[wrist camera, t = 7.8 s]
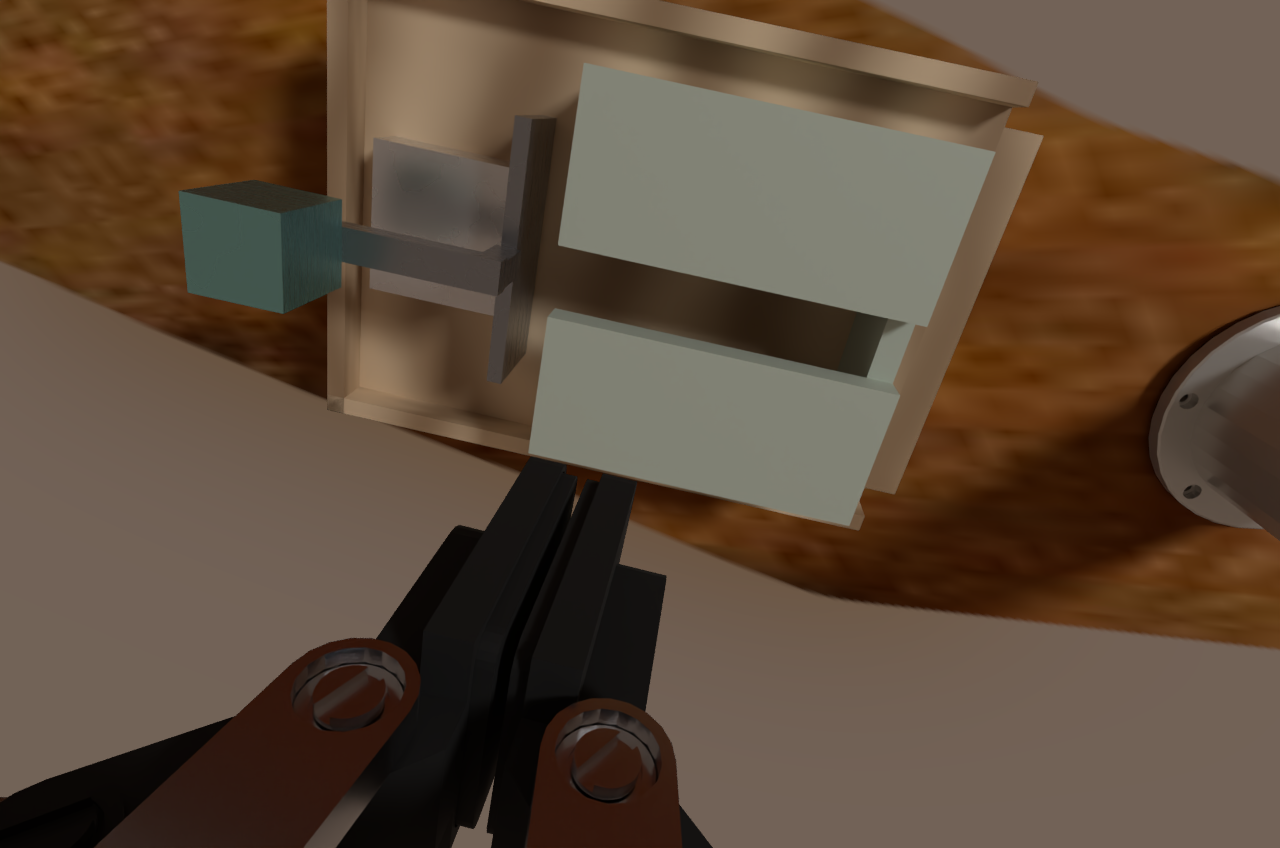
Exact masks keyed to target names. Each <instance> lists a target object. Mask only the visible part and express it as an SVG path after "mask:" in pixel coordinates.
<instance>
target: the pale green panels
mask: <svg viewBox="0 0 1280 848" xmlns="http://www.w3.org/2000/svg"><path fill="white" fill-rule="evenodd" d="M995 153H996V152H994V151H989V150H984V149H980V148H975V147H971V146H966V145H961V144H957V143H952V142H948V141H943V140H938V139H934V138H929V137H924V136H920V135H915V134H911V133H906V132H901V131H897V130H892V129H888V128H883V127H878V126H874V125H869V124H865V123H860V122H855V121H851V120H846V119H842V118H837V117H832V116H828V115H823V114H819V113H814V112H809V111H805V110H800V109H795V108H791V107H786V106H782V105H777V104H772V103H768V102H763V101H759V100H754V99H749V98H745V97H740V96H736V95H731V94H726V93H722V92H717V91H713V90H708V89H703V88H699V87H694V86H690V85H685V84H680V83H676V82H671V81H667V80H662V79H657V78H653V77H648V76H643V75H639V74H634V73H630V72H625V71H620V70H616V69H611V68H607V67H602V66H597V65H593V64H588V63H584V65H583V72H582V79H581V86H580V93H579V100H578V107H577V114H576V121H575V128H574V135H573V142H572V149H571V156H570V163H569V170H568V177H567V184H566V191H565V198H564V205H563V212H562V219H561V226H560V233H559V240H558V245H559V246H564V247H568V248H573V249H577V250H582V251H586V252H591V253H595V254H600V255H604V256H609V257H613V258H618V259H622V260H627V261H631V262H636V263H640V264H645V265H649V266H654V267H658V268H663V269H667V270H672V271H676V272H681V273H685V274H690V275H694V276H699V277H703V278H708V279H712V280H717V281H721V282H726V283H730V284H735V285H739V286H744V287H748V288H753V289H757V290H762V291H766V292H771V293H775V294H780V295H784V296H789V297H793V298H798V299H803V300H807V301H812V302H816V303H821V304H825V305H830V306H834V307H839V308H843V309H848V310H852V311H857V313H856V316H855V319H854V322H853V325H852V328H851V331H850V334H849V337H848V340H847V343H846V346H845V348H844V351H843V354H842V357H841V360H840V363H839V366H838V369H837V371H834V370H829V369H825V368H821V367H816V366H812V365H807V364H803V363H798V362H794V361H789V360H785V359H780V358H776V357H771V356H767V355H762V354H758V353H753V352H749V351H744V350H740V349H735V348H731V347H726V346H722V345H718V344H713V343H709V342H704V341H700V340H695V339H691V338H686V337H682V336H677V335H673V334H668V333H664V332H659V331H655V330H650V329H646V328H641V327H637V326H632V325H628V324H624V323H619V322H615V321H610V320H606V319H601V318H597V317H592V316H588V315H583V314H579V313H574V312H570V311H565V310H561V309H556V308H555V309H554V310H553V311H552V312H551V313H550V315H549V316H548V318H547V325H546V332H545V339H544V346H543V353H542V360H541V367H540V374H539V381H538V388H537V395H536V402H535V409H534V416H533V423H532V430H531V437H530V444H529V451H528V453H529V454H534V455H538V456H542V457H547V458H551V459H556V460H560V461H564V462H569V463H573V464H578V465H582V466H586V467H591V468H595V469H600V470H604V471H609V472H613V473H617V474H622V475H626V476H631V477H635V478H639V479H644V480H648V481H653V482H657V483H661V484H666V485H670V486H675V487H679V488H683V489H688V490H692V491H697V492H701V493H705V494H710V495H714V496H719V497H723V498H727V499H732V500H736V501H741V502H745V503H749V504H754V505H758V506H763V507H767V508H771V509H776V510H780V511H785V512H789V513H793V514H798V515H802V516H807V517H811V518H815V519H820V520H824V521H829V522H833V523H837V524H842V525H846V526H849V525H850V523H851V520H852V518H853V515H854V513H855V510H856V508H857V505H858V502H859V500H860V497H861V495H862V492H863V490H864V487H865V485H866V482H867V479H868V477H869V474H870V472H871V469H872V467H873V464H874V462H875V459H876V456H877V454H878V451H879V449H880V446H881V444H882V441H883V439H884V436H885V433H886V431H887V428H888V426H889V423H890V421H891V418H892V416H893V413H894V410H895V408H896V405H897V403H898V400H899V398H900V394H899V393H898V391H897V390H896V388H895V386H894V385H893V382H894V379H895V377H896V374H897V371H898V369H899V366H900V364H901V361H902V358H903V356H904V353H905V351H906V348H907V345H908V343H909V340H910V337H911V335H912V332H913V330H914V327H915V325H920V326H924V327H927V326H928V324H929V321H930V319H931V316H932V313H933V311H934V308H935V306H936V303H937V301H938V298H939V296H940V293H941V290H942V288H943V285H944V283H945V280H946V278H947V275H948V273H949V270H950V268H951V265H952V262H953V260H954V257H955V255H956V252H957V250H958V247H959V245H960V242H961V239H962V237H963V234H964V232H965V229H966V227H967V224H968V222H969V219H970V216H971V214H972V211H973V209H974V206H975V204H976V201H977V199H978V196H979V193H980V191H981V188H982V186H983V183H984V181H985V178H986V176H987V173H988V171H989V168H990V165H991V163H992V160H993V158H994V155H995Z"/></svg>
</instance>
